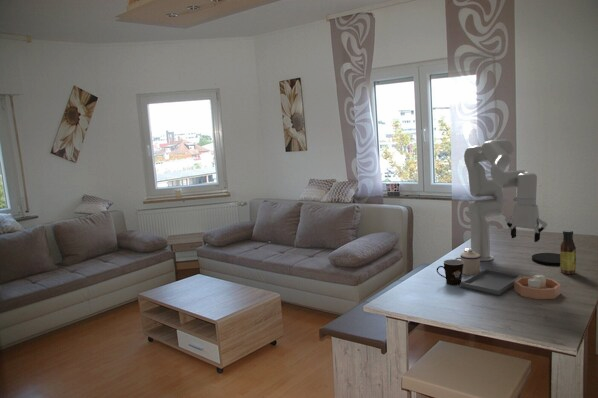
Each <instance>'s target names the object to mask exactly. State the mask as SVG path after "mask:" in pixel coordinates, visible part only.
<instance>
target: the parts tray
mask: <svg viewBox="0 0 598 398" xmlns="http://www.w3.org/2000/svg"><path fill="white" fill-rule="evenodd" d="M520 277H523V275H522V274H516V273H509V272H504V271H499V270H495V269H494V270H493V269H488V268H484V269H483V270H480V272H479V273H477V274H475V275H473V276H469V277H467V278H466V279H464V280H463V281H461V282H460V285H459V288H460V289H464V290H468V291H469V290H470V291H473V292H476V293H477V292H478V293H483V294H487V295H490V296H491V295H492V296H495V297H500V296H502V295H503V294H504V293H506V292H507V291H509V290H511V289H513V288H514V281H515V280H517V279H519V278H520Z"/></svg>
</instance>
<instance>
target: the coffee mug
mask: <svg viewBox="0 0 598 398" xmlns="http://www.w3.org/2000/svg"><path fill="white" fill-rule="evenodd" d="M463 263H464V262H463V261H461V259H457V260H455V258H454V259H444V260H443V265H439V266H437V267H436V272H437V275H439V276H441V277H442V278H444V279H445V282H446V285H448V286H456V287H457V286H460V282H462V279H463V274H462V272H463ZM440 268H442V269H444V274H445V275H442V274H440V272H439V269H440Z"/></svg>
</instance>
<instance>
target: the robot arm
mask: <svg viewBox="0 0 598 398" xmlns="http://www.w3.org/2000/svg"><path fill="white" fill-rule="evenodd" d="M513 152H514V145H513V143H512V142H511V141H510V140H509V139H504V138H503V139H494V140H493V139H491V140H487V141H485V142H483V143H482V145H472V146H469V147H467V148H466V149H465V151H464V154H463V160H464V164H465V166H466V170H467V175H468V176H467V177H468V184H469V185H468V187H469V192H470V193H469V194H470V195H471V196H472V197H474V198H482V199H475V200H472V201H470V203H469V204H468V207H467V208H468V213H469V215H468V216H469V219H470V220H469V221H470V223H469V224H470V248H466V247H465V248H464V252H463V253H465V252H467V251H468V250H469V249H472V250H473V252H475V253H478V254H480V256H481V257H480V262H488V261H492V260H494V256H493V254H491V226H490V223H489V221H487V219H486V218H493V217H500V216H502V215H503V213H504V209H505V208H504V207H505V206H504V196H503V195H504V194H503V189H513V188H516V197H513V201H514V202H515V203H514V205H513V208H512V215H511V216H509V217H506V218H504V221H505V222H506V225H507V226H508V227H509V229H510V236H511V239H514V238H516V237H517V228H524V229H530V230H533V231H534V239H533V240H534V242H535V243H537V242H539V241H540V239H541V232H543V230H545V229H546V228H547V226H548V223H547V222H546V221H544V220H542V219H541V218H540V214H539V213H540V212H539V211H540V210H539V206H538V204H537V186H538V184H537V183H538V177H537V174H536V173H533V172H529V171H527V170H524V169H523V170H522V169H518V170H507V171H503V170H504V169H506V168H507V167H508V166H509V165H510V163H511V160H512V158H511V155H513ZM483 162H489V163H490V164H491V167H490V176H491V177H489V178H487V174H486V169H485V167H484V166H483V164H481V163H483ZM484 197H489V198H487V199H486V198H484ZM539 225H542V226H541V227H540V226H539ZM516 227H517V228H516Z"/></svg>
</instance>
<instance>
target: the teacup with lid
mask: <svg viewBox="0 0 598 398" xmlns="http://www.w3.org/2000/svg"><path fill="white" fill-rule="evenodd" d="M468 249H469V250H468V251H467V252H462V253H461V254H460V256H457V257H455V258H454V260H461V261H463V262H464V263H463V272H462V275H465V276H469V277H471V276H473V275H475V274H477V273H479V272H480V271H481V261H480V257H481V256H480V254H478V253H475V252H473V250H472V249H471V248H468Z"/></svg>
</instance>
